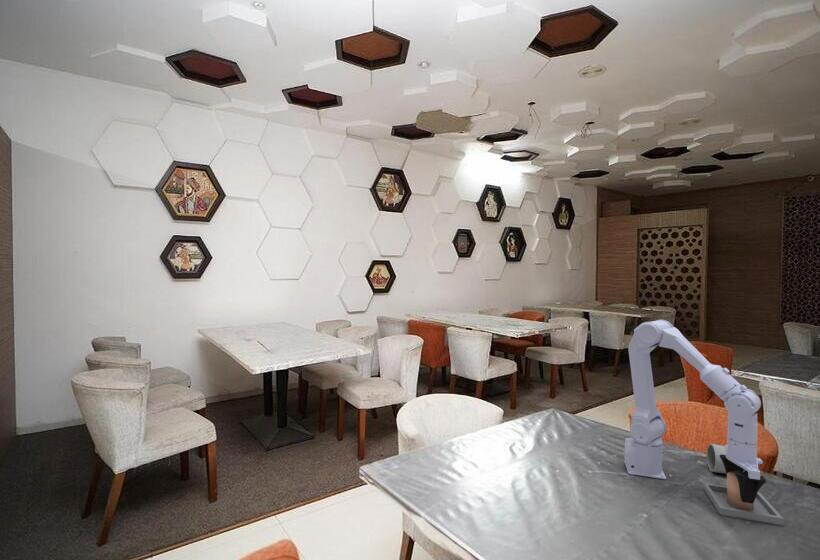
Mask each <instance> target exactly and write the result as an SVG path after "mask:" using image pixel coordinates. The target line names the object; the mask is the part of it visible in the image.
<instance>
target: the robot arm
mask: <svg viewBox="0 0 820 560" xmlns="http://www.w3.org/2000/svg"><path fill="white" fill-rule="evenodd" d="M658 346H659V347H661V348H666V349H670V350H674V351H675V352H676V353H677V354H678V355H679V356H681V357H682V358H683V359H684V360H685V361H687V362H688V363H689V364H690V365H691V366H692V367H694V369H696V370H697V371H698V372H699V378H700V381H702V382H703V383H704V385H706V386H707V387H708V388H709V389H710V390H711V391H712V392H713V393H714V394H715V395H717V397H719V399H720V400H722V401H723V404H724V407H725V409H726V411H727V412H728V413H727V414H728V416H727V417H728V418H727V432H726V434H727V437H726V438H727V440H726V444H724V446H725V452H726V455H720V458H721V460H722V462H723V464H724V467H725V471H726V474H725V475H726V476H727V473H728V472H734V474H735V475H736V478H737V480H738V483H739V488H740V496H741V500H742V502H745V503H751V504H753V503H754V501H755V498H756V495H757V493H758V491H759V492H760V490H761V487H762V486H764V485H765V484H766V482H767V480H766V478H765V477H764V476H763V475H761V471H760V469H759V465H763V460H762V459H761V458H760V457H758V428H759V427H758V411H759V410H760V409H761V407H762V400H761V398H760V397H759V395H758V394H757V393H756V392H755V391H754V390H752V389H749V388H748V387H747V386H746V385H745V384H741V383H740V382H739V381H738V380H736V379H735V378H734V377H733V376H732V375H731V374H730V370H729V369H728V368H727V367H724V368H723V367H722V366H721V365H718V364H712V363H711V362H709V360H707V358H706V357H704V355H703V354H702V353H701V352H700V351H699V350H698V349H697V348H696V347H695V346H694V345H693V344H692V343H691V342H690V341H689V340H688V339H687V338H686V337H685V336H684V334H682V333H681V331H680V330H679V329H678V328H677V327H675V326H673V325H672V323H670V321H667V320H666V319H656V320H652V321H645V322H642V323H640V324H639V325H637V327H636V328H634V329H633V335H632V338H631V339H630V342H629V344H628V347H627V349H628V357H629V359H628V360H629V365H630V373H631V380H632V381H631V383H632V390H633V399H634V406H635V407H634V410H633V412H632V414H631V424H630V427H629V432H630V435H631V436H632V437H626V438H625V439H624V461H623V462H624V466H625V468H626V472H627V473H628V474H629V475H633V476H634V475H635V476H641V477H648V478H653V479H661V480H667V476H666V474H665V472H664V471H663V439H662V436H664V435H665V434H666V432H667V425H666V422H665V421H664V419H663V417H662V413H661V410H660V409H659V408H658V407H657V401H656V395H655V394H656V393H655V385H654V380H653V379H654V377H653V370H652V369H653V368H652V361H651V355H650V354H651V352H652V351H653V350H655V349H656V347H658ZM743 471H744V472H743Z"/></svg>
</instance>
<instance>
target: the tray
mask: <svg viewBox="0 0 820 560" xmlns="http://www.w3.org/2000/svg"><path fill="white" fill-rule="evenodd" d="M702 485H703V487H702V488H703V489H702V490H703V491H704V493H705V495H706V496H707V498H708V499H709V501H710V502H711V504H712V505H713V507H714V508H715V509H716V511H717V512H718V514H719V515H720V516H721V517H727V518H734V519H737V520H738V519H739V520H746V521H751V522H756V523H762V524H767V525H774V526H779V527H784V522H785V521H784V517H783V516H782V515H781V514H780V513H779V512H778V510H776V508H774V506H773V505H772V504H771V503H770V502H769V501H768V500H767V498H765V496H764V495H763V494H762V493H761V492H760V490H759V491H758V493H757V495H756V498H755V501H754V510H752V511H745V510H739V509H736V508H734V507H732V506H730V505H729V504H728V503H727V485H720V484H713V483H708V482H707V483H705V482H703V484H702Z"/></svg>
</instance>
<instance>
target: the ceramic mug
mask: <svg viewBox="0 0 820 560" xmlns="http://www.w3.org/2000/svg"><path fill="white" fill-rule="evenodd" d="M720 455H726V452H725V445H720V444H715V443H709V444H708V445H707V449H706V460H707V466H708V468H709V471H710V472H712V473H719V474H724V475H726V471H725V467H724V464H723V462H722V460H721V458H720ZM743 472H744V471H743Z"/></svg>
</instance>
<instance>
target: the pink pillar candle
mask: <svg viewBox="0 0 820 560" xmlns="http://www.w3.org/2000/svg"><path fill="white" fill-rule="evenodd" d="M726 486H727V503H728V504H729V505H730V506H732V507H734V508H736V509H739V510H745V511H752V510H754V503H753V504H751V503H745V502H742V500H741V496H740V488H739V483H738V480H737V478H736V475H735V474H734V472H728V473H727V475H726Z"/></svg>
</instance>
